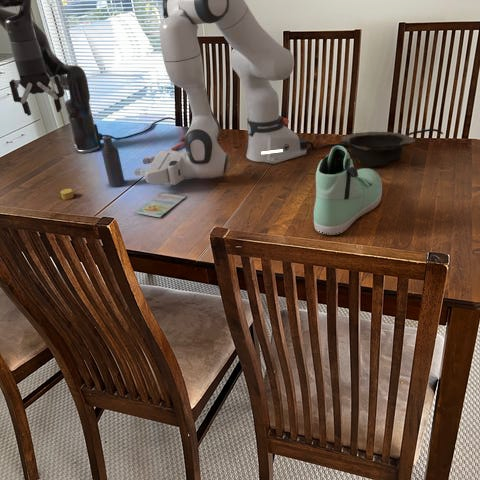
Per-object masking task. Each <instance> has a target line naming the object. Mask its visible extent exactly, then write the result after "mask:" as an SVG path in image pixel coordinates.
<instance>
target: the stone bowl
mask: <svg viewBox="0 0 480 480" xmlns="http://www.w3.org/2000/svg"><path fill="white" fill-rule="evenodd" d="M340 139H341V140H340V143H339V144H346V145H349V146H350V147H349V152H350V154H351V155H352V157H353V158H354V159H356V160H358V162H359V166H361V167H364V168H367V167H368V168H377V167H386V166H388V165H389V164H390V162H398V161H400V160H401V157H402V153H403V148H404V147H408V146H410V145H412V144H414V143H415V142H416V139H415V138H413V137H411V136H410V135H409V136H407V135H406V134H403V133H399V132H392V131H364V132H355V133H350V134H346V135H343V136H342V137H341V138H340Z"/></svg>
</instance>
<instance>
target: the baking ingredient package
mask: <svg viewBox="0 0 480 480" xmlns="http://www.w3.org/2000/svg"><path fill="white" fill-rule="evenodd" d="M185 198H186V195H185V196H184V195H178V194H172V193H168V192H167V193H166V192H162V193H160V194H159V195H157V197H155V198H153V199H152V200H151V201H149V202H148V203H147V204H145V205H144V206H143V207H141V208H140V209H138V210H137V211H135V214H139V215H144V216H150V217H155V218H161V217H162V216H163V215H164V214H166V213H168V211H170V210H171V209H172V208H173V207H175V206H176V205H177V204H179V203H180V202H181V201H182V200H184V199H185Z"/></svg>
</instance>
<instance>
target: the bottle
mask: <svg viewBox="0 0 480 480" xmlns="http://www.w3.org/2000/svg"><path fill="white" fill-rule="evenodd" d="M102 141H103V145H104V146H103V147H102V150H101V155H102V158H103V163H104V167H105V172H106V177H107V180H108V186H109V187H110V188H119V187H122V186H124V185H125V183H126V181H125V176H124V171H123V166H122V162H121V158H120V154H119V149H118V148H117V147H116V146H115V145H114V144H113V138H111V137H109V136H108V137H103V140H102Z"/></svg>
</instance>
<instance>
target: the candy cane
mask: <svg viewBox="0 0 480 480" xmlns="http://www.w3.org/2000/svg"><path fill="white" fill-rule="evenodd" d="M185 136H186V135H184V136H181V137H180V138H179V141H180V142H181V143H179V144H176V145H174V146H173V147H171V148H170V150H171V151H177V150H179V149H180V148H182V147H185V144H184V140H185Z"/></svg>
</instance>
